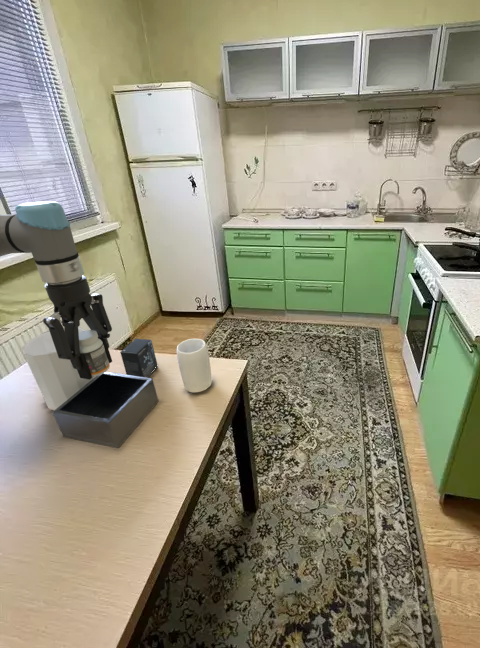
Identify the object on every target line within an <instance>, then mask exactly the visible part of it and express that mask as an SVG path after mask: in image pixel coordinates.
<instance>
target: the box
mask: <svg viewBox="0 0 480 648" xmlns="http://www.w3.org/2000/svg"><path fill="white" fill-rule="evenodd" d="M120 357H121V360H122V364H123V366H124V371H125V375H132V376H139V377H146V378H150V377H151V375H152V374H153V373H154V372H155V371H157V369H158V368H159V366H157V365H158V362H157V361H158V360H157V358H156V354H155V348H154V345H153V340H152V339H146V338H134V340H132V341H131V342H130V343H129V344H128V345H127V346H125V347H124V348H123V349H122V350H120ZM155 367H156V368H155ZM154 369H155V370H154ZM153 370H154V371H153ZM152 371H153V372H152ZM151 372H152V373H151Z"/></svg>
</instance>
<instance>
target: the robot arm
mask: <svg viewBox="0 0 480 648" xmlns="http://www.w3.org/2000/svg"><path fill="white" fill-rule="evenodd" d="M14 210H15V213H14V214H13V213H12V214H0V257H2V256H5V255H9V254H31V256H32V258H33V260H34V263H35V266H36V268H37V271H38V273H39V276H40V280H41V281H42V282H43V283H45V284H44V289H45V291H46V294H47V296H48V299H49V301H50V302H51V303H52V305H53V313H52V314H51V315H50V316H49V317H44V318H43V319H42V322H43V324H44V325H45V326H46V327H47V328H48V331H50V334H51V337H52V340H53V343H54V346H55V349H56V352H57V355H58V357H59V358H60V359H67V360H70V361H71V363H72V366H73V368H74V369H77V371H78V374H79V376H80V378H83V379H89V380H90V379H91V378H92V375H91V372H90V369H89V367H88V364H87V361H86V359H85V356H84V354H80V346H79V332H78V327H80V326H81V320H83V321H84V322H85V324H86V325H87V327H88V328H89V330H95V331H96V332H97V334H98V339H100V340H101V341H102V342H103V345H104V348H105V352H106V355H107V358H108V361H109V364H111V363H112V362H113V359H112V356H111V352H110V349H109V348H110V343H109V340H108V339H109V338H110V337H111V332H112V331H113V327H112V324H111V321H110V319H109V316H108V314H107V311H106V308H105V306H104V297H103V295H102V294H100V293H90V292H91V288H90V285H89V283H88V279H87V277H86V276H85V270H84V267H83V264H82V261H81V258H80V255H79V251H78V250H77V247H76V243H75V239H74V236H73V233H72V229H71V223H70V221H69V220H68V217H67V214H66V212H65V210H64V207H63V206H62V204H61V203H59V202H57V201H53V200H44V201H33V202H24V203H19V204H16V206H15V209H14Z"/></svg>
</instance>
